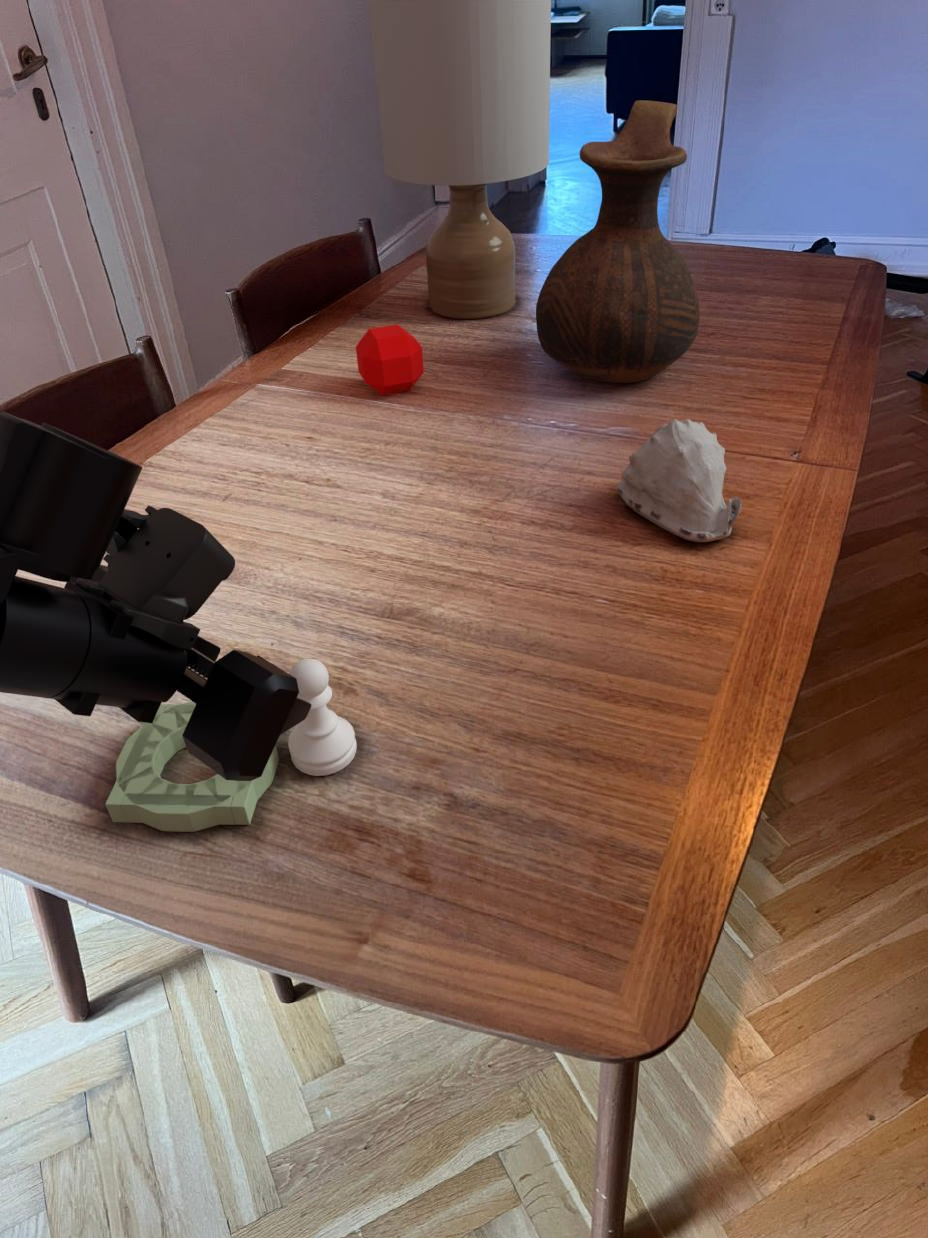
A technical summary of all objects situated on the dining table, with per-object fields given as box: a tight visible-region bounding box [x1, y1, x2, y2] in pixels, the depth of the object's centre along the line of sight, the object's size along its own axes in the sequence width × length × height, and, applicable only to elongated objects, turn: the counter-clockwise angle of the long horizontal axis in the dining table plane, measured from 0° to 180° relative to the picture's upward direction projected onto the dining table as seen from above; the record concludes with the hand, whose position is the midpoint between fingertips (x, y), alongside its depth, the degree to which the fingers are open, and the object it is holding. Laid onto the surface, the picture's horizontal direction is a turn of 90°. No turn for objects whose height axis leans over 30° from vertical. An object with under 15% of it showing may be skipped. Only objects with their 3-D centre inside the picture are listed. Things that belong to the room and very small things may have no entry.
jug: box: [535, 99, 701, 384], centre depth 112 cm, size 22×22×30 cm
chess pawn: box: [287, 658, 358, 777], centre depth 65 cm, size 5×5×9 cm
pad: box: [105, 701, 280, 833], centre depth 66 cm, size 11×11×2 cm
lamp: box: [368, 0, 552, 320], centre depth 129 cm, size 24×24×42 cm
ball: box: [355, 323, 425, 396], centre depth 117 cm, size 8×8×8 cm
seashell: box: [616, 417, 742, 543], centre depth 89 cm, size 12×14×10 cm
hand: (260, 681), depth 59 cm, fingers open, 9 cm apart
